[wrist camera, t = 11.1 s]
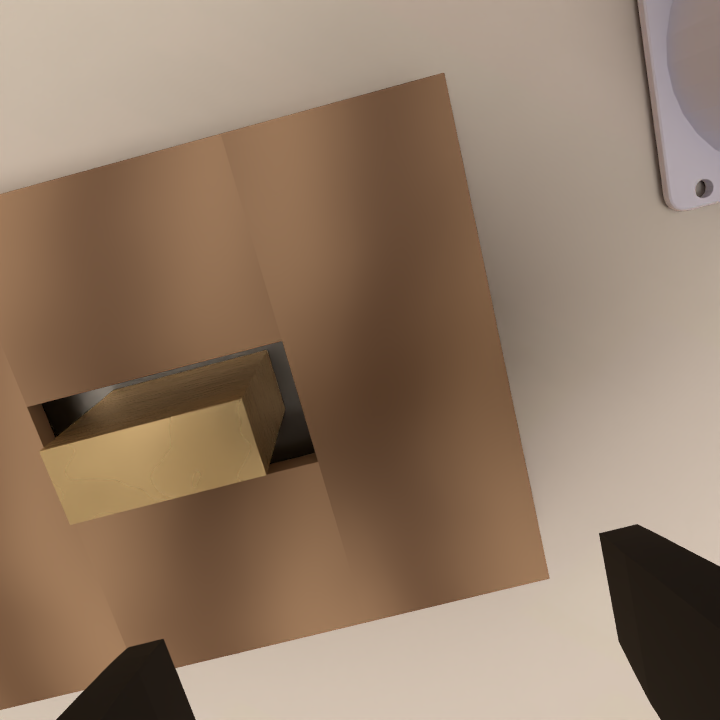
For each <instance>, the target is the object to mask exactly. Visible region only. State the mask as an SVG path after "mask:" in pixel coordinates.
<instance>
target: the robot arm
mask: <svg viewBox="0 0 720 720" xmlns="http://www.w3.org/2000/svg"><path fill="white" fill-rule="evenodd" d="M637 1H638V9H639V16H640V24H641V31H642V38H643V46H644V53H645V61H646V68H647V76H648V83H649V91H650V98H651V106H652V113H653V121H654V128H655V136H656V143H657V151H658V158H659V166H660V173H661V181H662V188H663V196H664V200H665V203H666V204H667V205H668V207H669V208H671V209H673V210H676V211H688V210H692V209H696V208H700V207H703V206H707V205H711V204H715V203H719V202H720V0H637ZM701 180H702V181H703V182H704V183H705V185H706V189H705V192H704V194H703V195H702V196H701V197H698V196H697V195H696V192H695V187H696V185H697V183H698V182H699V181H701ZM599 536H600V541H601V547H602V552H603V558H604V563H605V569H606V574H607V580H608V585H609V591H610V596H611V601H612V607H613V612H614V618H615V623H616V629H617V634H618V640H619V643H620V645H621V647H622V649H623V651H624V653H625V655H626V657H627V659H628V661H629V663H630V665H631V667H632V669H633V671H634V673H635V675H636V677H637V679H638V681H639V682H640V684H641V686H642V688H643V690H644V692H645V694H646V696H647V698H648V700H649V702H650V703H651V705H652V707H653V708H654V710H655V711H656V713H657V714H658V716H659V717H660V719H661V720H720V566H718V565H716V564H714V563H712V562H710V561H708V560H706V559H704V558H702V557H700V556H698V555H696V554H695V553H693V552H691V551H689V550H687V549H685V548H683V547H681V546H679V545H677V544H675V543H673V542H671V541H670V540H668V539H666V538H664V537H662V536H660V535H658V534H656V533H654V532H652V531H650V530H648V529H646V528H644V527H642V526H640V525H638V524H636V525H632V526H628V527H624V528H620V529H616V530H611V531H607V532H603V533H599ZM56 720H195V717H194V715H193V712H192V709H191V707H190V704H189V702H188V699H187V697H186V694H185V692H184V689H183V687H182V684H181V682H180V679H179V676H178V674H177V671H176V669H175V666H174V664H173V661H172V659H171V656H170V654H169V651H168V649H167V646H166V643H165V641H164V639H160V640H156V641H152V642H148V643H144V644H139V645H135V646H131V647H128V648H127V649H126V650H124V651H123V652H122V653H121V654H120V655H119V656H118V657H117V658H116V659H115V660H114V661H113V662H112V663H110V664H109V665H108V666H107V667H106V668H105V669H104V670H103V671H102V673H101V674H100V675H99V676H98V677H97V678H96V679H95V680H94V681H93V682H92V683H91V684H90V685H89V686H88V687H87V688H86V689H85V690H84V691H83V692H82V693H81V694H80V695H79V696H78V697H77V698H76V700H75V701H74V702H73V703H72V704H71V705H70V706H69V707H68V708H67V709H66V710H65V711H64V712H63V713H62V714H61V715H60V716H59V717H58V718H57V719H56Z"/></svg>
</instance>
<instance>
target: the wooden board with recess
mask: <svg viewBox="0 0 720 720" xmlns="http://www.w3.org/2000/svg"><path fill="white" fill-rule="evenodd" d="M280 341H282V342H283V346H284V349H285V352H286V356H287V359H288V362H289V366H290V369H291V372H292V376H293V379H294V383H295V386H296V389H297V393H298V396H299V399H300V403H301V406H302V409H303V413H304V416H305V420H306V423H307V426H308V430H309V433H310V436H311V440H312V443H313V446H314V450H315V453H313V454H309V455H305V456H301V457H297V458H293V459H289V460H285V461H281V462H277V463H273V464H269V468H268V471H267V475H265V476H261V477H257V478H253V479H249V480H245V481H241V482H238V483H234V484H230V485H226V486H222V487H218V488H214V489H210V490H206V491H202V492H198V493H194V494H190V495H186V496H182V497H178V498H174V499H171V500H167V501H163V502H159V503H155V504H151V505H147V506H143V507H139V508H135V509H131V510H127V511H123V512H119V513H115V514H111V515H108V516H104V517H100V518H96V519H92V520H88V521H84V522H80V523H76V524H72V525H70V524H69V521H68V519H67V517H66V514H65V512H64V509H63V507H62V505H61V502H60V500H59V497H58V495H57V493H56V490H55V488H54V486H53V483H52V481H51V478H50V476H49V474H48V471H47V469H46V466H45V464H44V462H43V459H42V457H41V455H40V452H39V451H40V450H41V449H43V448H44V447H45V446H46V445H48V444H49V443H50V442H51V441H52V440H54V439H55V436H54V434H53V431H52V429H51V426H50V424H49V422H48V419H47V417H46V414H45V412H44V409H43V407H42V404H41V403H45V402H48V401H52V400H56V399H60V398H64V397H68V396H72V395H75V394H79V393H83V392H87V391H91V390H95V389H99V388H102V387H106V386H110V385H114V384H118V383H122V382H126V381H129V380H133V379H137V378H141V377H145V376H149V375H153V374H156V373H160V372H164V371H168V370H172V369H176V368H180V367H183V366H187V365H191V364H195V363H199V362H203V361H207V360H210V359H214V358H218V357H222V356H226V355H230V354H234V353H237V352H241V351H245V350H249V349H253V348H257V347H261V346H264V345H268V344H272V343H276V342H280ZM545 579H549V574H548V569H547V564H546V559H545V555H544V550H543V545H542V540H541V535H540V531H539V526H538V521H537V516H536V511H535V507H534V502H533V497H532V492H531V487H530V483H529V478H528V473H527V468H526V463H525V459H524V454H523V449H522V444H521V439H520V435H519V430H518V425H517V420H516V415H515V411H514V406H513V401H512V396H511V391H510V387H509V382H508V377H507V372H506V367H505V363H504V358H503V353H502V348H501V343H500V339H499V334H498V329H497V324H496V319H495V314H494V310H493V305H492V300H491V295H490V290H489V286H488V281H487V276H486V271H485V266H484V262H483V257H482V252H481V247H480V242H479V238H478V233H477V228H476V223H475V218H474V214H473V209H472V204H471V199H470V194H469V190H468V185H467V180H466V175H465V170H464V166H463V161H462V156H461V151H460V146H459V142H458V137H457V132H456V127H455V122H454V118H453V113H452V108H451V103H450V98H449V94H448V89H447V84H446V79H445V74H444V73H441V74H437V75H434V76H430V77H426V78H423V79H419V80H415V81H412V82H408V83H404V84H401V85H397V86H393V87H390V88H386V89H382V90H379V91H375V92H372V93H368V94H364V95H361V96H357V97H353V98H350V99H346V100H342V101H339V102H335V103H331V104H328V105H324V106H320V107H317V108H313V109H310V110H306V111H302V112H299V113H295V114H291V115H288V116H284V117H280V118H277V119H273V120H269V121H266V122H262V123H258V124H255V125H251V126H247V127H244V128H240V129H237V130H233V131H229V132H226V133H222V134H218V135H215V136H211V137H207V138H204V139H200V140H196V141H193V142H189V143H185V144H182V145H178V146H175V147H171V148H167V149H164V150H160V151H156V152H153V153H149V154H145V155H142V156H138V157H134V158H131V159H127V160H123V161H120V162H116V163H112V164H109V165H105V166H102V167H98V168H94V169H91V170H87V171H83V172H80V173H76V174H72V175H69V176H65V177H61V178H58V179H54V180H50V181H47V182H43V183H40V184H36V185H32V186H29V187H25V188H21V189H18V190H14V191H10V192H7V193H3V194H0V710H2V709H6V708H11V707H15V706H19V705H23V704H27V703H31V702H36V701H40V700H44V699H48V698H52V697H56V696H61V695H65V694H69V693H73V692H77V691H82V690H85V689H86V688H87V687H88V686H89V685H90V684H91V683H92V682H93V681H94V680H95V679H96V678H97V677H98V676H99V675H100V674H101V673H102V671H103V670H104V669H105V668H106V667H107V666H108V665H109V664H110V663H112V662H113V661H114V660H115V659H116V658H117V657H118V656H119V655H120V654H121V653H122V652H123V651H124V650H126V649H127V648H128V647H131V646H135V645H139V644H144V643H148V642H152V641H156V640H160V639H164V641H165V643H166V646H167V649H168V651H169V654H170V656H171V659H172V661H173V664H174V666H175V668H178V667H182V666H186V665H190V664H194V663H198V662H203V661H207V660H211V659H215V658H219V657H224V656H228V655H232V654H236V653H240V652H244V651H249V650H253V649H257V648H261V647H265V646H269V645H274V644H278V643H282V642H286V641H290V640H295V639H299V638H303V637H307V636H311V635H315V634H320V633H324V632H328V631H332V630H336V629H341V628H345V627H349V626H353V625H357V624H361V623H366V622H370V621H374V620H378V619H382V618H386V617H391V616H395V615H399V614H403V613H407V612H412V611H416V610H420V609H424V608H428V607H432V606H437V605H441V604H445V603H449V602H453V601H457V600H462V599H466V598H470V597H474V596H478V595H483V594H487V593H491V592H495V591H499V590H503V589H508V588H512V587H516V586H520V585H524V584H528V583H533V582H537V581H541V580H545Z"/></svg>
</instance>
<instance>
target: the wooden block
mask: <svg viewBox="0 0 720 720" xmlns="http://www.w3.org/2000/svg"><path fill="white" fill-rule="evenodd" d="M284 412H285V406H284V403H283V400H282V397H281V393H280V390H279V387H278V384H277V380H276V377H275V374H274V371H273V367H272V364H271V361H270V358H269V355H268V351H267V350H264V351H260V352H256V353H253V354H249V355H245V356H241V357H237V358H234V359H230V360H226V361H222V362H218V363H215V364H211V365H207V366H203V367H199V368H195V369H192V370H188V371H184V372H180V373H176V374H173V375H169V376H165V377H161V378H157V379H154V380H150V381H146V382H142V383H138V384H134V385H131V386H127V387H123V388H119V389H115V390H113V391H112V392H111V393H109V394H108V395H107V396H106V397H104V398H103V399H102V400H101V401H100V402H98V403H97V404H96V405H95V406H94V407H92V408H91V409H90V410H89V411H87V412H86V413H85V414H84V415H83V416H81V417H80V418H79V419H78V420H77V421H75V422H74V423H73V424H72V425H71V426H69V427H68V428H67V429H66V430H64V431H63V432H62V433H61V434H60V435H58V436H57V437H56V438H55V439H54V440H52V441H51V442H50V443H49V444H48V445H46V446H45V447H44V448H43V449H41V450H40V451H39V452H40V455H41V457H42V459H43V462H44V464H45V466H46V469H47V471H48V474H49V476H50V478H51V481H52V483H53V486H54V488H55V490H56V493H57V495H58V497H59V500H60V502H61V505H62V507H63V509H64V512H65V514H66V517H67V519H68V521H69V524H70V525H72V524H76V523H80V522H84V521H88V520H92V519H96V518H100V517H104V516H108V515H111V514H115V513H119V512H123V511H127V510H131V509H135V508H139V507H143V506H147V505H151V504H155V503H159V502H163V501H167V500H171V499H174V498H178V497H182V496H186V495H190V494H194V493H198V492H202V491H206V490H210V489H214V488H218V487H222V486H226V485H230V484H234V483H238V482H241V481H245V480H249V479H253V478H257V477H261V476H265V475H267V471H268V468H269V464H270V461H271V457H272V454H273V450H274V447H275V443H276V440H277V436H278V433H279V429H280V426H281V422H282V419H283V415H284Z"/></svg>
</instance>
